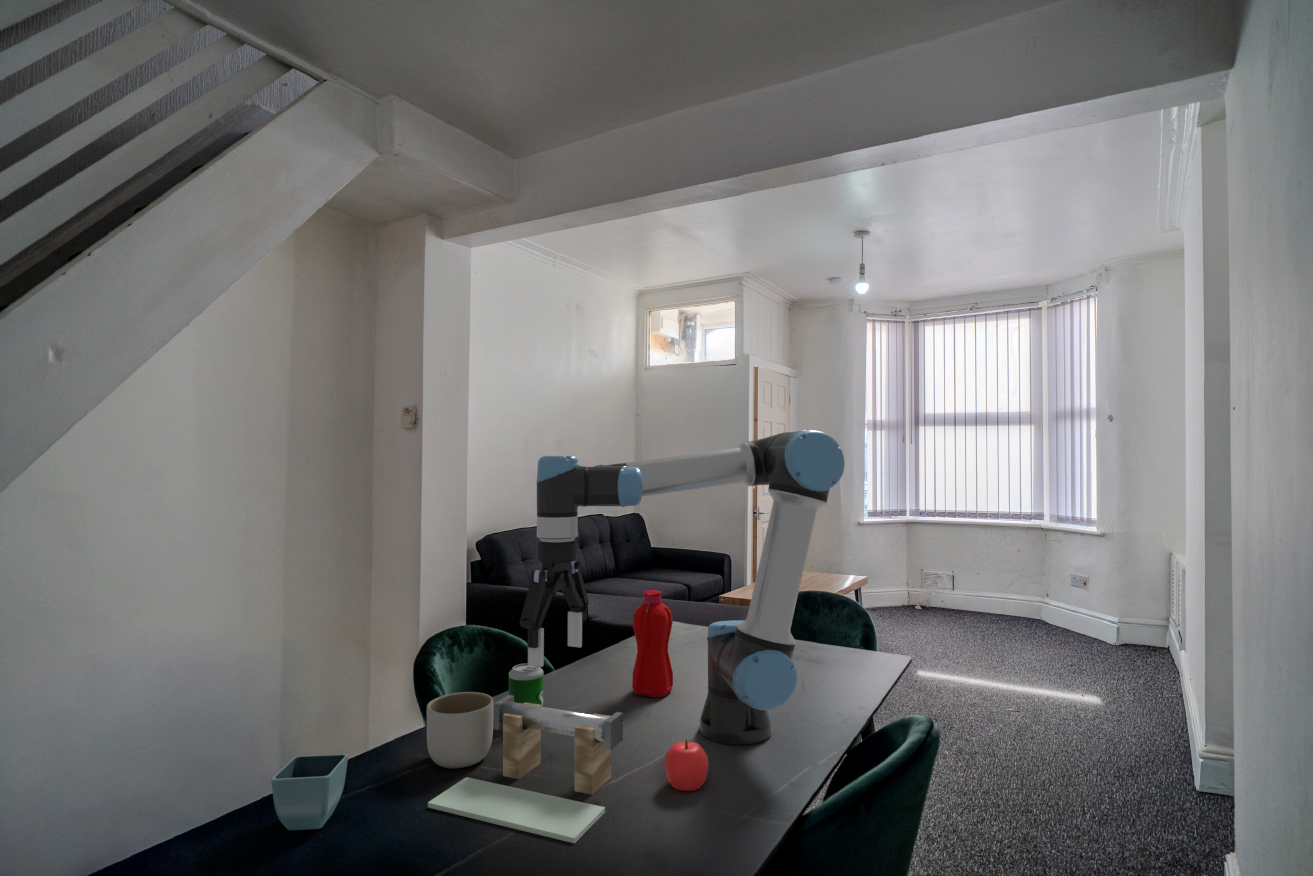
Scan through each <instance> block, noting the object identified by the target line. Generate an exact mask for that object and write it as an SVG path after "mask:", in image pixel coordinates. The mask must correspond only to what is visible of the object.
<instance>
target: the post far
mask: <svg viewBox="0 0 1313 876" xmlns="http://www.w3.org/2000/svg"><path fill="white" fill-rule="evenodd" d="M523 704H528V705H534V706H540V707H541V705H539V704H532V703H526V702H525V703H523ZM541 734H542V731H541V730H536V729H530V728H524V727H522V716H520V715H514V714H508V713H506V714H504V715H503V728H502V777H506V778H510V779H515V780H520V779H521V778H523V777H525V776H526V775H527V774H528V773H530V772H531V771H532V770H534V769H535V768H536V767H538V766H539V765H541V764H542V763H541V762H542V761H541V759H542V758H541V757H542V754H541V753H542V749H541V747H542V745H541V744H542V743H541V742H542V735H541Z"/></svg>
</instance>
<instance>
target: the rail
mask: <svg viewBox="0 0 1313 876" xmlns="http://www.w3.org/2000/svg"><path fill="white" fill-rule="evenodd" d="M506 713H508V714H514V715H520V716H522V727H524V728H530V729H536V730H541V732H548V733H554V734H561V735H566V736H570V737H575V727H576V726H577V725H579V726H585V727H591V728H595V740H598V741H604V742H605V749H606V750H611V751H612V750H613V749H614V748H615V747H616V746H617V745H619V744H620V743H622V741H623V740H624V726H623V725H624V721H623V720H624V719H623V718H624V713H623V712H621V711H616V712H615V713H613V714H612V715H610V716H611V717H603V716H596V715H593V714H591V713H589V714H588V713H582V712H578V711H570V710H565V709H564V710H563V709H558V708H552V707H545V706H543V707H540V706H534V705H528V704H522V703H515V702H514V696H512V695H509V694H507V695H506V696H504V697H503V698H500V699H498V700H496V701H495V702H494V708H493V730H495V731H496V730H497V731H500V730H503V715H504V714H506Z"/></svg>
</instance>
